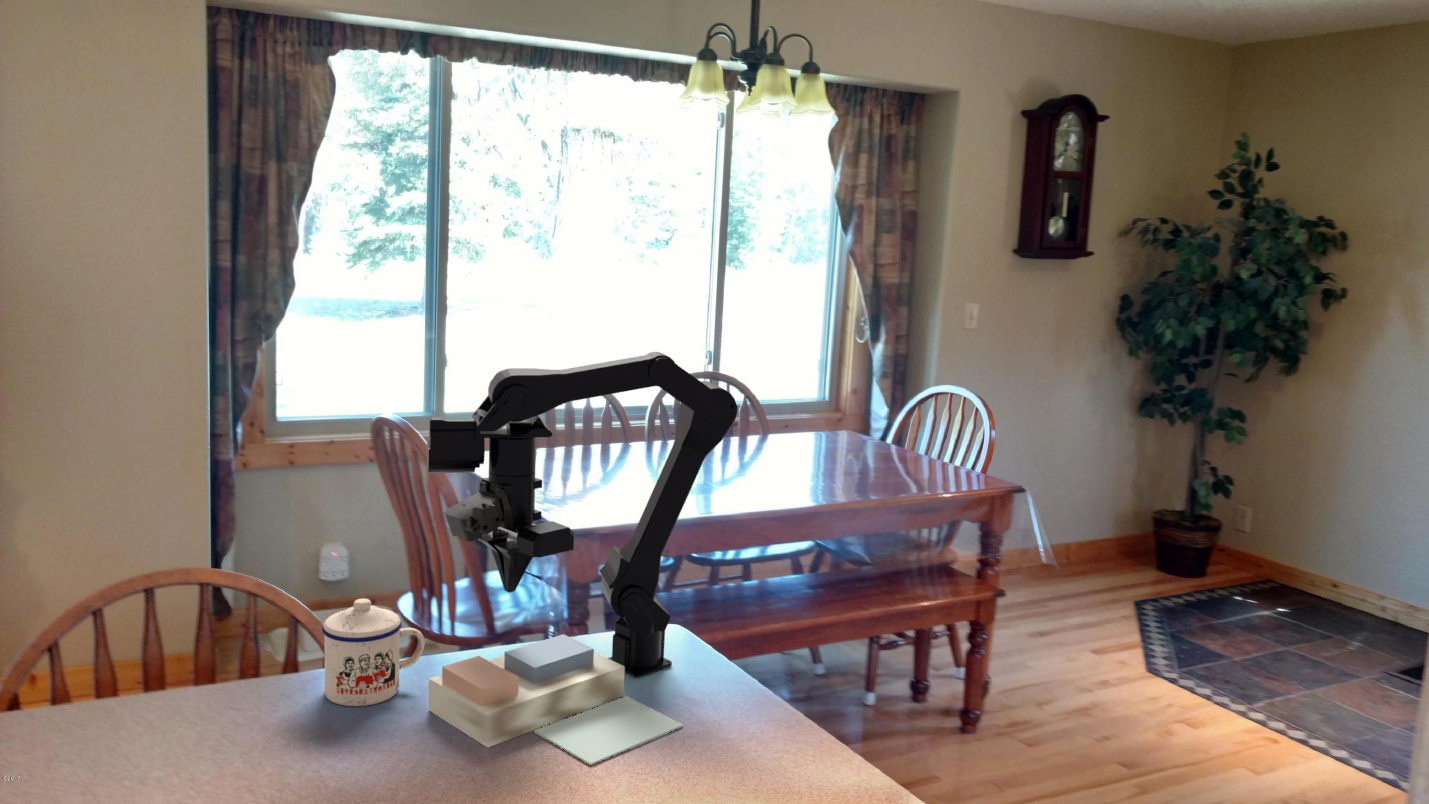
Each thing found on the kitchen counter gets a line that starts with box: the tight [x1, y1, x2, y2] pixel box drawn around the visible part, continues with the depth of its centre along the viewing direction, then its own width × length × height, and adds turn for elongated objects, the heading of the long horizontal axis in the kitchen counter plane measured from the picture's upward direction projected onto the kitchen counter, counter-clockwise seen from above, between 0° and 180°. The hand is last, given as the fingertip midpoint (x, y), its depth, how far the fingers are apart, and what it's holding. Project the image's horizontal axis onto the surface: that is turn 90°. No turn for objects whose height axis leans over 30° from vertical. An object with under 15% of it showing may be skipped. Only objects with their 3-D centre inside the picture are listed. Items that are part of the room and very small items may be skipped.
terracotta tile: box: [441, 655, 519, 706], centre depth 124 cm, size 5×8×2 cm, turn 46°
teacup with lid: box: [321, 598, 425, 707], centre depth 131 cm, size 12×9×12 cm
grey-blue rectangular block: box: [503, 633, 595, 684], centre depth 131 cm, size 9×6×2 cm, turn 136°
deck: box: [428, 651, 625, 748], centre depth 130 cm, size 20×12×4 cm, turn 136°
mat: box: [534, 695, 684, 766], centre depth 124 cm, size 14×10×1 cm
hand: (509, 591), depth 136 cm, fingers closed
